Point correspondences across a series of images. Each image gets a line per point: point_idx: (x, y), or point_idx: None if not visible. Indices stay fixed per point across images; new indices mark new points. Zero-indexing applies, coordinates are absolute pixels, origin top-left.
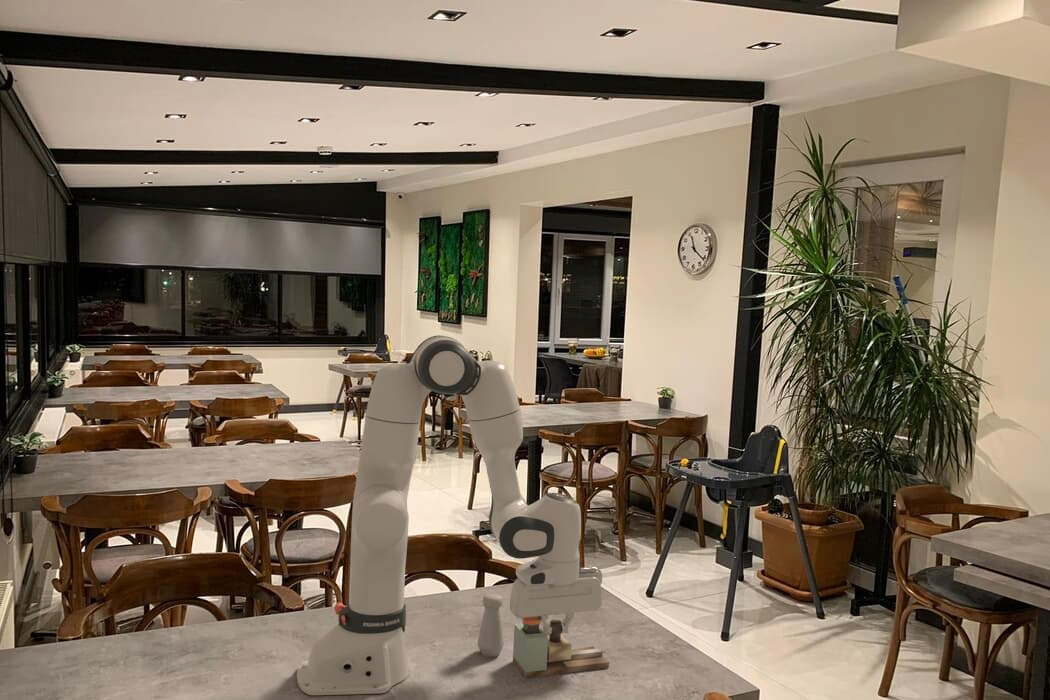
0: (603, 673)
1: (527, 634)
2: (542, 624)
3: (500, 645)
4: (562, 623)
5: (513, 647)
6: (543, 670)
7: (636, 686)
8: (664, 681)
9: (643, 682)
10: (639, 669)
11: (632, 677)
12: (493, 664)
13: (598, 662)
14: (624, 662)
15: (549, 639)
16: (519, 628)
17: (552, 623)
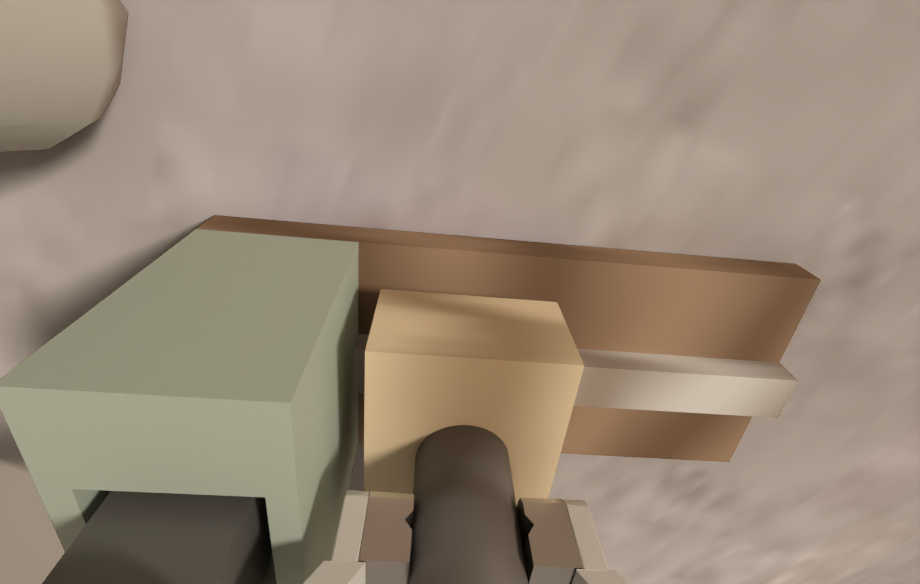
0: (646, 472)
1: None
2: (319, 575)
3: (58, 137)
4: (560, 581)
5: (162, 256)
6: None
7: (686, 574)
8: (816, 572)
9: (737, 561)
10: (827, 485)
11: (733, 525)
12: (64, 213)
13: (677, 451)
14: (833, 417)
15: (416, 456)
16: (53, 495)
17: None
